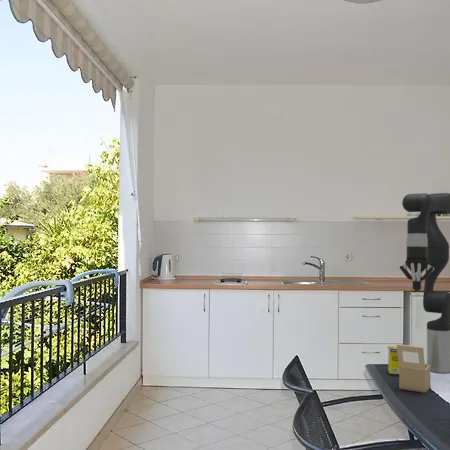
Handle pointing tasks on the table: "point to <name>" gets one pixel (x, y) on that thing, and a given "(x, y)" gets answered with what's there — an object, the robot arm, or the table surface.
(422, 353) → the flap
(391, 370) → the supplement box
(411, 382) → the carton
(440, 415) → the table surface
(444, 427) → the table surface
